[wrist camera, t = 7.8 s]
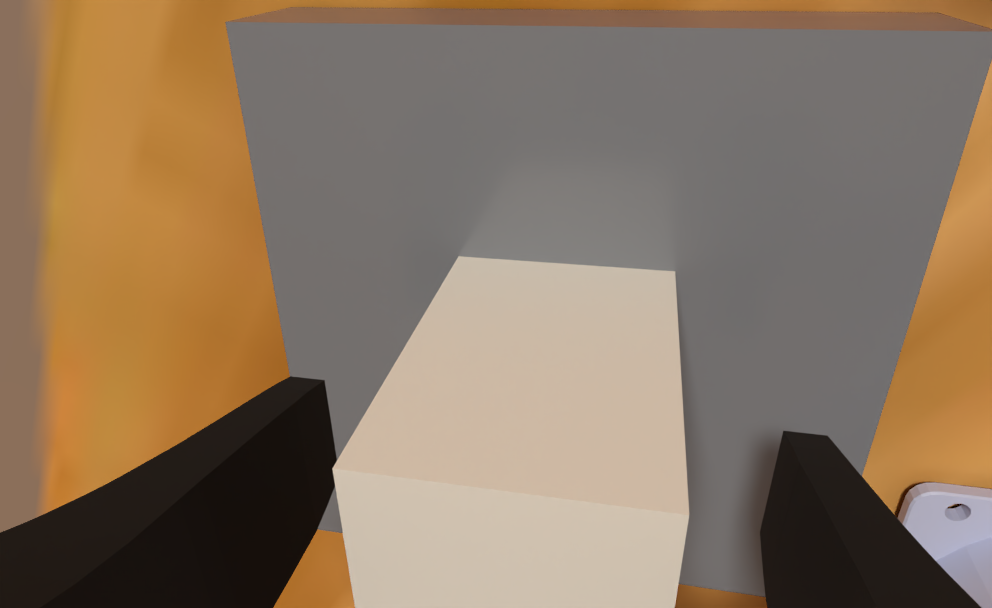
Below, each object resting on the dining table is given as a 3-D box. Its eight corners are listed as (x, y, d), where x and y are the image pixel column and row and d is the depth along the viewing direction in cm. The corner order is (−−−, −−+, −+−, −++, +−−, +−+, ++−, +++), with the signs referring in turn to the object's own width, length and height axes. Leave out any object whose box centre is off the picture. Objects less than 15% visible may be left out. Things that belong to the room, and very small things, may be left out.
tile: (938, 13, 12) (1000, 31, 10) (801, 522, 18) (821, 605, 16) (290, 6, 14) (225, 21, 12) (354, 463, 20) (318, 529, 18)
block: (675, 271, 12) (689, 515, 7) (654, 445, 14) (654, 738, 9) (458, 256, 13) (332, 468, 8) (466, 424, 15) (367, 683, 10)
